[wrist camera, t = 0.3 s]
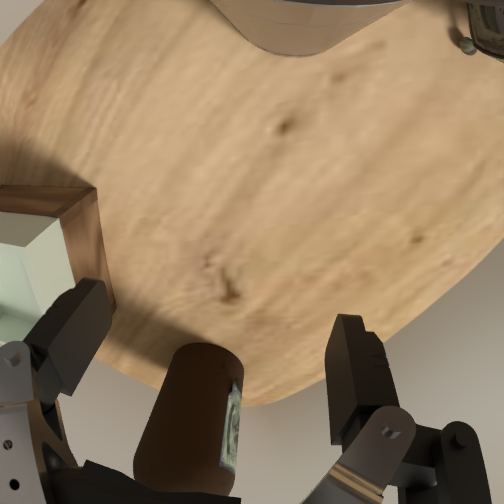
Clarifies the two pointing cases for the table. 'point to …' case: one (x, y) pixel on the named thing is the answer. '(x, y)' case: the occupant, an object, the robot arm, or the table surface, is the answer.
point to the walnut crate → (67, 225)
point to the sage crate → (30, 271)
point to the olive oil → (193, 424)
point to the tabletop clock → (485, 31)
